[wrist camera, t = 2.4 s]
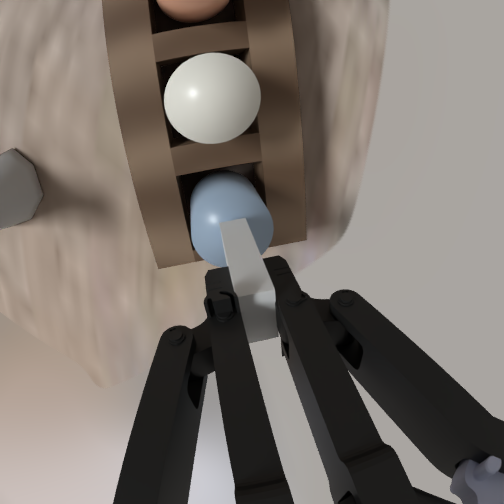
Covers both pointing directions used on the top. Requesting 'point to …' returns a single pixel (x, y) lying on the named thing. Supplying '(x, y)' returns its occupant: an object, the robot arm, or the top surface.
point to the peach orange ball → (192, 9)
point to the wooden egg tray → (200, 154)
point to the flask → (17, 189)
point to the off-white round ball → (212, 98)
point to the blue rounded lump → (226, 213)
